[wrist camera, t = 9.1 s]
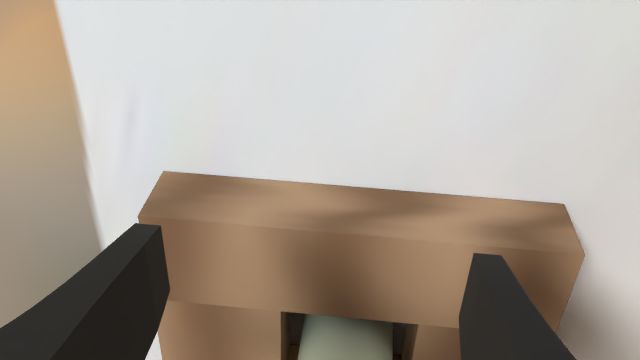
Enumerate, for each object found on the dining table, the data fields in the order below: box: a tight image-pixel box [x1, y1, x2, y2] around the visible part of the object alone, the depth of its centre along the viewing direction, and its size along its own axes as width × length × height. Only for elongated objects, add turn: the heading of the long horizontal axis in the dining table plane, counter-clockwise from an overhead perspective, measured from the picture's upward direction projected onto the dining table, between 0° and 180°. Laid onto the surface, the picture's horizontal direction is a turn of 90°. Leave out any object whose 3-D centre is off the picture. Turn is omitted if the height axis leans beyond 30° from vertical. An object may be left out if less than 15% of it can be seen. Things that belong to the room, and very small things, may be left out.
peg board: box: [138, 171, 585, 360], centre depth 26 cm, size 16×14×3 cm
